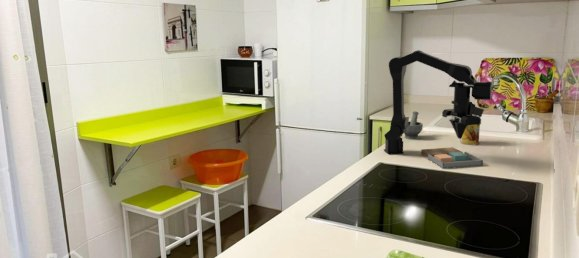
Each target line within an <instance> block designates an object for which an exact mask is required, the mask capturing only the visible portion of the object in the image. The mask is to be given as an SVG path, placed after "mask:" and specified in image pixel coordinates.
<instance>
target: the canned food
mask: <svg viewBox="0 0 579 258" xmlns="http://www.w3.org/2000/svg"><path fill="white" fill-rule="evenodd" d="M468 116H470V115H468ZM475 116H476V115H475ZM478 117H479V116H478ZM480 127H481V124H479V125H467V127H466V129H465V131H464V133H463V136H462V138H460V139H459V143H460V144H461V145H467V146H475V145H476V146H477V145H479V142H480V130H481V129H480Z"/></svg>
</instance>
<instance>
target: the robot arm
mask: <svg viewBox="0 0 579 258" xmlns="http://www.w3.org/2000/svg"><path fill="white" fill-rule="evenodd" d="M415 62H419V63H420V64H424V65H426V66H428V67H431V68H434V69H437V70H439V71H440V72H444V73H445V74H446V75H448V76H450V77H451V78H452V79H454V80H453V81H452V82H451V83H450V84H449V86H448V87H449V88H454V89H453V90H454V91H453V100H451V104H453V108H447V109H444V110H442V114H441V116H442V117H443V118H448V117H450V118H451V119H449V122H450V124H451V126H452V128H453V130H454V133H455V134H456V137H457V139H459V140H460V138H462V136H463V133H464V131H465V129H466V127H467V125H479V124H480V125H482V119H481V118H482V116H483V114H484V112H485V111H484V110H485V109H483V108H481V107H477V106H476V104H475V103H473V102H472V101H471V98H473V99H474V100H478V101H479V100H480V101H481V100H482V101H483V100H484V101H491V99H492V93H493V90H492V81H477V79H476V78H475V76H474V75H473V71H472V68H471V67H470V66H468V65H465V64H461V63H455V62H449V61H447V60H443V59H442V58H439V57H436V56H435V55H432V54H430V53H429V54H428V53H426V52H424V51H422V50H419V49H418V50H415V51H413V52H411V53H409V54H406V55H404V56H397V57H396V56H395V57H393V58H391V59H390V60H389V61H388V71H389V74H390V77H391V80H392V117H391V121H390V126H389V127H390V129H389V130H388V131H387V132H386V133H385V134H384V136H383V137H384V138H385V142H384V143H385V145H384V147H385V148H384V149H383V152H385V153H387V154H388V155H397V154H401V155H402V154H404V141H403V138H402V136H403V135H404V133H405V132H406V131H407V128H408V127H409V124H408V122H410V121H409V119H410V117H409V116H406V115H405V96H404V95H405V92H404V89H405V88H404V85H405V84H404V81H405V80H404V79H405V75H406V72H407V66H409V65H411V64H414V63H415ZM457 81H458V82H457ZM468 115H470V116H468ZM475 115H476V116H475ZM478 116H479V117H478Z"/></svg>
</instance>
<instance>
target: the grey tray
mask: <svg viewBox="0 0 579 258" xmlns="http://www.w3.org/2000/svg"><path fill="white" fill-rule="evenodd" d="M463 153H464V154H466V155H467V160H461V161H454V160H453V162H447V163H443V162H441V161H440V160H438V159H436V158H435V157H433V156H431V155H428V158H427V160H428V161H430V162H431V161H432V162H431V163H433V164H434V163H435V165H436V164H437V165H436V166H437V167H439V166H440V167H439V168H441V167H442V169H452V168H453V167H456V168H466V167H467V166H468V167H478V166H479V167H480V166H483V159H481V158H479V157H477V156H476V155H473V154H470V153H469V152H467V151H464V152H463ZM453 169H454V168H453Z"/></svg>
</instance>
